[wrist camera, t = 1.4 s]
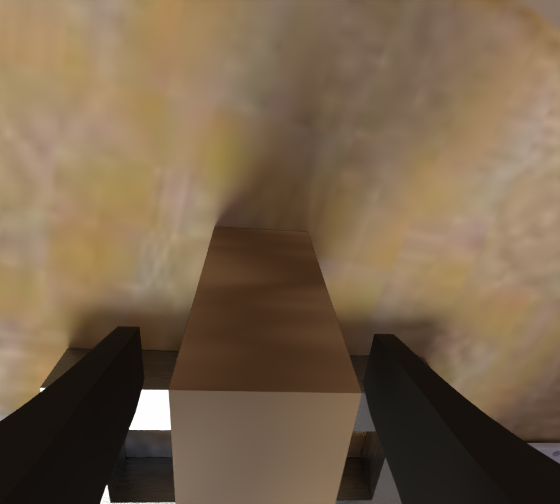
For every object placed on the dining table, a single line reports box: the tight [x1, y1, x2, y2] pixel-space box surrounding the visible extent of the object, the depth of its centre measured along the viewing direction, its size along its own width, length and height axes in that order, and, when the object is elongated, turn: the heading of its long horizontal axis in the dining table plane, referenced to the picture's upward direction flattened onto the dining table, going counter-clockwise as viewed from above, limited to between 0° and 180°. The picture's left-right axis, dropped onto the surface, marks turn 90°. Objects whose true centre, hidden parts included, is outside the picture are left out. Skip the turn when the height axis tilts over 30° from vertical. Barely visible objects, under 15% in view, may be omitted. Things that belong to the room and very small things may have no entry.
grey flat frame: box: [40, 349, 429, 504], centre depth 20 cm, size 18×10×2 cm, turn 85°
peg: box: [168, 227, 362, 504], centre depth 12 cm, size 4×4×9 cm
